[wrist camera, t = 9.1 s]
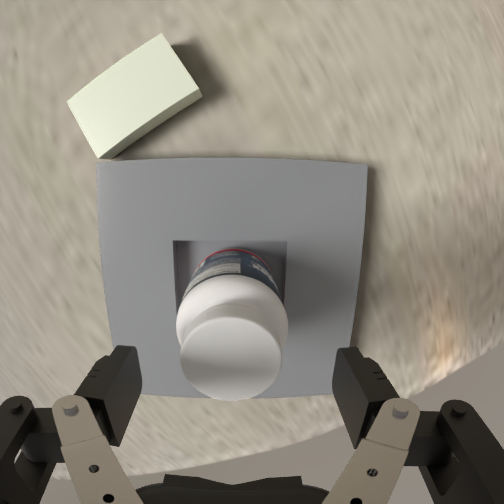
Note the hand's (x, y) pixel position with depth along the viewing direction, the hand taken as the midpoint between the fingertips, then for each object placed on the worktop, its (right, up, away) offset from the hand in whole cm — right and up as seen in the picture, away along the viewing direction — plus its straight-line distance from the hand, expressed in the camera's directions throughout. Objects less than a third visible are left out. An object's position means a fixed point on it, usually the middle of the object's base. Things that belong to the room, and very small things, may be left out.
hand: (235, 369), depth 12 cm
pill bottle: (-1, +2, +9) cm, 9 cm away
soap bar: (-7, +14, +6) cm, 17 cm away
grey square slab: (-1, +2, +9) cm, 9 cm away
